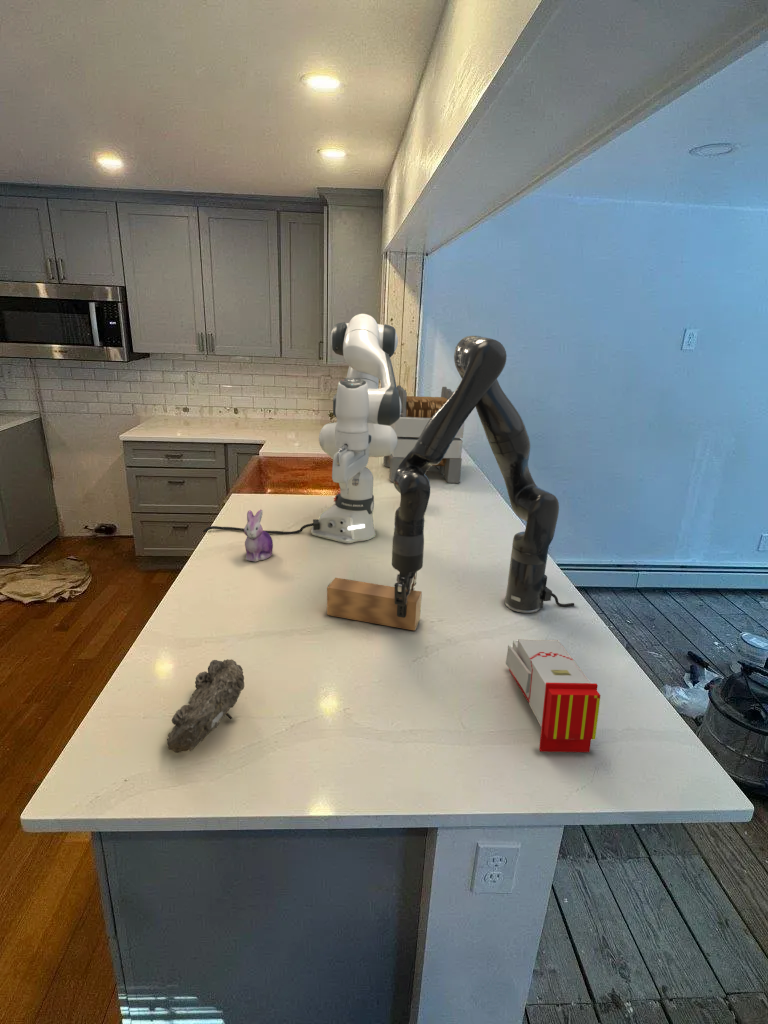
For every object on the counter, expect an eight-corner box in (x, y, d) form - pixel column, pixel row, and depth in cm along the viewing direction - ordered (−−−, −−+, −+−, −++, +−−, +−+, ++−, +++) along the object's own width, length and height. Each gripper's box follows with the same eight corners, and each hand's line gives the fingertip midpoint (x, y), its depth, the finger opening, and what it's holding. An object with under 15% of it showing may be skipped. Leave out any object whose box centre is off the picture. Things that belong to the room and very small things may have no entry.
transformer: (382, 463, 289) (386, 382, 275) (445, 464, 293) (451, 384, 279) (390, 482, 257) (394, 392, 243) (460, 483, 261) (468, 394, 247)
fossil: (192, 660, 117) (244, 628, 112) (224, 691, 120) (276, 661, 115) (142, 746, 98) (202, 712, 93) (182, 779, 101) (242, 748, 96)
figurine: (248, 564, 171) (246, 518, 166) (239, 551, 179) (237, 507, 174) (278, 559, 175) (277, 514, 170) (269, 547, 183) (267, 503, 178)
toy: (554, 622, 128) (610, 691, 98) (548, 677, 130) (601, 759, 101) (501, 621, 127) (541, 690, 98) (496, 676, 130) (534, 758, 101)
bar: (327, 614, 145) (326, 587, 142) (335, 604, 150) (335, 577, 148) (414, 630, 139) (416, 602, 137) (420, 618, 145) (421, 591, 142)
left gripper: (349, 450, 142) (348, 502, 146) (373, 434, 160) (372, 481, 165) (326, 447, 143) (325, 499, 148) (352, 432, 162) (351, 478, 166)
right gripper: (416, 563, 129) (412, 627, 134) (429, 539, 142) (425, 599, 147) (384, 558, 130) (382, 621, 136) (400, 535, 143) (397, 594, 149)
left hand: (350, 489), depth 157 cm, fingers open, 8 cm apart
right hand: (404, 609), depth 142 cm, fingers closed on bar, 6 cm apart
